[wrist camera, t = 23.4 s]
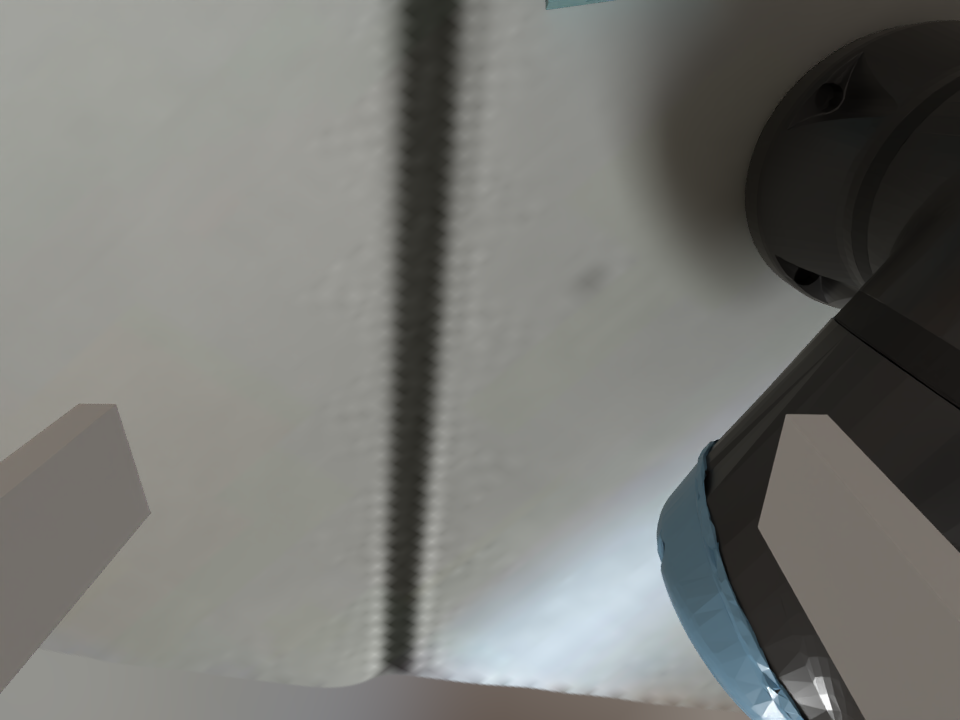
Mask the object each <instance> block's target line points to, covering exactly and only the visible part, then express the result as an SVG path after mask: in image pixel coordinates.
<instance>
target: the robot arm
mask: <svg viewBox="0 0 960 720" xmlns="http://www.w3.org/2000/svg"><path fill="white" fill-rule="evenodd" d="M745 205H746V216H747V222H748V226H749V230H750V233H751V236H752V239H753V241H754V244H755V246H756V248H757V250H758V252H759V253H760V255H761V257H762V258H763V260H764V261H765V262H766V264H767V265H768V266H769V267H770V268H771V269H772V270H773V272H775V273H776V274H777V275H778V276H779V277H780V278H781V279H783V280H784V281H785V282H787V283H788V284H789V285H791V286H792V287H794V288H795V289H796V290H798V291H799V292H801V293H803V294H804V295H806V296H808V297H809V298H811V299H813V300H816V301H818V302H820V303H823V304H826V305H829V306H832V307H835V308H840V309H841V310H840V311H839V312H838V314H837V315H836V316H835V317H833V318H831V319H830V321H829V322H828V323H827V324H826V325H825V326H824V327H823V328H822V329H821V330H820V332H819V333H818V334H817V335H816V336H815V337H814V338H813V339H812V340H811V341H810V343H809V344H808V345H807V346H806V347H805V348H804V349H803V350H802V351H801V352H800V354H799V355H798V356H797V357H796V358H795V359H794V360H793V361H792V362H791V363H790V365H789V366H788V367H787V368H786V369H785V370H784V371H783V372H782V373H781V374H780V375H779V377H778V378H777V379H776V380H775V381H774V382H773V383H772V384H771V385H770V386H769V388H768V389H767V390H766V391H765V392H764V393H763V394H762V395H761V396H760V397H759V398H758V399H757V400H756V402H755V403H754V404H753V405H752V406H751V407H750V408H749V409H748V410H747V411H746V412H745V413H744V414H743V415H742V416H741V417H740V418H739V419H738V420H737V422H736V423H735V424H734V425H733V426H732V427H731V428H730V429H729V430H728V431H727V432H726V433H725V434H724V435H723V436H722V437H721V438H720V439H718V440H716V441H712V442H710V443H709V444H708V445H707V446H706V447H705V448H704V449H703V450H702V452H701V454H700V456H699V458H698V463H697V464H696V465H695V467H694V468H693V469H692V470H691V471H690V473H689V474H688V475H687V476H686V478H685V479H684V480H683V481H682V482H681V484H680V485H679V486H678V487H677V488H676V490H675V491H674V492H673V493H672V495H671V496H670V497H669V498H668V500H667V501H666V503H665V505H664V507H663V509H662V511H661V514H660V518H659V522H658V527H657V545H658V554H659V557H660V560H661V562H662V564H661V572H662V576H663V580H664V583H665V586H666V589H667V592H668V595H669V597H670V600H671V602H672V605H673V607H674V609H675V611H676V614H677V616H678V618H679V620H680V622H681V624H682V626H683V628H684V630H685V632H686V633H687V635H688V637H689V639H690V640H691V642H692V644H693V645H694V647H695V649H696V650H697V652H698V654H699V655H700V657H701V658H702V660H703V661H704V663H705V664H706V666H707V667H708V669H709V670H710V671H711V673H712V674H713V676H714V677H715V678H716V680H717V681H718V682H719V684H720V685H721V686H722V688H723V689H724V690H725V691H726V692H727V694H728V695H729V696H730V697H731V698H732V699H733V701H734V702H735V703H736V704H737V705H738V706H739V707H740V708H741V709H742V710H743V711H744V712H745V713H746V714H747V715H748V717H750V718H751V720H960V21H954V20H948V21H931V22H923V23H917V24H911V25H905V26H899V27H894V28H890V29H886V30H882V31H879V32H876V33H873V34H870V35H868V36H865V37H863V38H860V39H858V40H856V41H854V42H852V43H850V44H848V45H846V46H845V47H843V48H841V49H839V50H838V51H836V52H835V53H833V54H831V55H830V56H828V57H827V58H826V59H824V60H823V61H821V62H820V63H819V64H817V65H816V66H815V67H814V68H813V69H811V70H810V71H809V72H808V73H807V74H806V75H805V76H804V77H803V78H802V79H800V80H799V81H798V83H797V84H796V85H795V86H794V87H793V88H792V89H791V90H790V91H789V92H788V94H787V95H786V96H785V97H784V98H783V100H782V101H781V102H780V104H779V105H778V106H777V108H776V109H775V111H774V112H773V114H772V115H771V117H770V118H769V120H768V122H767V124H766V126H765V127H764V129H763V131H762V133H761V135H760V137H759V140H758V142H757V145H756V147H755V150H754V153H753V156H752V159H751V162H750V166H749V170H748V176H747V182H746V193H745ZM150 513H151V512H150V509H149V506H148V503H147V500H146V497H145V494H144V490H143V487H142V484H141V481H140V478H139V475H138V472H137V468H136V465H135V462H134V459H133V456H132V453H131V450H130V447H129V443H128V440H127V437H126V434H125V431H124V428H123V425H122V421H121V418H120V415H119V412H118V409H117V406H116V404H78V405H77V406H75V407H74V408H73V409H71V410H70V411H69V412H67V413H66V414H65V415H63V416H62V417H61V418H59V419H58V420H57V421H55V422H54V423H53V424H51V425H50V426H49V427H47V428H46V429H44V430H43V431H42V432H40V433H39V434H38V435H36V436H35V437H34V438H32V439H31V440H30V441H28V442H27V443H26V444H24V445H23V446H22V447H20V448H19V449H18V450H16V451H15V452H14V453H12V454H11V455H10V456H8V457H7V458H6V459H4V460H3V461H2V462H0V693H1V692H2V691H3V689H4V688H5V687H6V686H7V685H8V684H9V682H10V681H11V680H12V679H13V678H14V676H15V675H16V674H17V673H18V672H19V670H20V669H21V668H22V667H23V666H24V664H25V663H26V662H27V661H28V660H29V658H30V657H31V656H32V655H33V654H34V652H35V651H36V650H37V649H38V648H39V646H40V645H41V644H42V643H43V642H44V640H45V639H46V638H47V637H48V636H49V634H50V633H51V632H52V631H53V630H54V628H55V627H56V626H57V625H58V624H59V622H60V621H61V620H62V619H63V618H64V617H65V615H66V614H67V613H68V612H69V611H70V609H71V608H72V607H73V606H74V605H75V603H76V602H77V601H78V600H79V599H80V597H81V596H82V595H83V594H84V593H85V591H86V590H87V589H88V588H89V587H90V585H91V584H92V583H93V582H94V581H95V579H96V578H97V577H98V576H99V575H100V573H101V572H102V571H103V570H104V569H105V567H106V566H107V565H108V564H109V563H110V561H111V560H112V559H113V558H114V557H115V555H116V554H117V553H118V552H119V551H120V549H121V548H122V547H123V546H124V545H125V543H126V542H127V541H128V540H129V539H130V537H131V536H132V535H133V534H134V533H135V531H136V530H137V529H138V528H139V527H140V525H141V524H142V523H143V522H144V521H145V519H146V518H147V517H148V516H149V515H150Z"/></svg>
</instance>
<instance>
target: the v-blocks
mask: <svg viewBox="0 0 960 720" xmlns="http://www.w3.org/2000/svg"><path fill="white" fill-rule="evenodd" d="M606 1H613V0H545V2H546V10H549V9H556V8H563V7H570V6H577V5H585V4H592V3H599V2H606Z"/></svg>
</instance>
